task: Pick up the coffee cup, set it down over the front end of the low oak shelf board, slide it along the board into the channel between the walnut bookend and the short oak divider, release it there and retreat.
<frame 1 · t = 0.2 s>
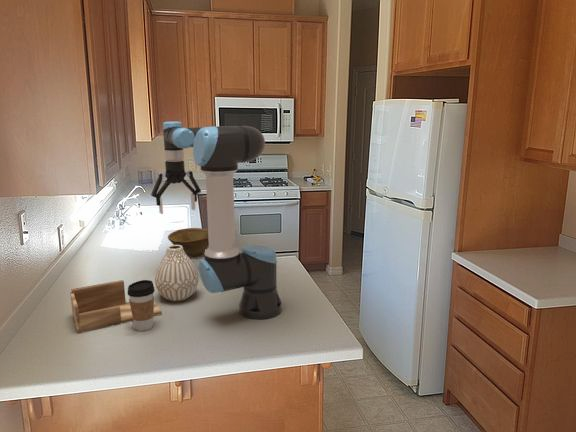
hand: (177, 211, 193), 28 cm above the countertop, fingers open, 13 cm apart
vase: (178, 297, 177), on the countertop
bowl: (192, 253, 228), on the countertop
shelf: (117, 315, 161), on the countertop
coffee cup: (144, 327, 153), on the countertop
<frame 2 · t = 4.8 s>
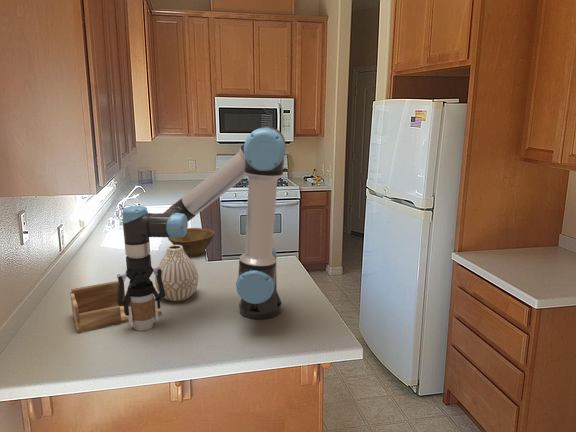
hand: (143, 320, 153), 2 cm above the countertop, fingers closed on coffee cup, 7 cm apart
coffee cup: (144, 327, 153), on the countertop, touching gripper
everything else where it was.
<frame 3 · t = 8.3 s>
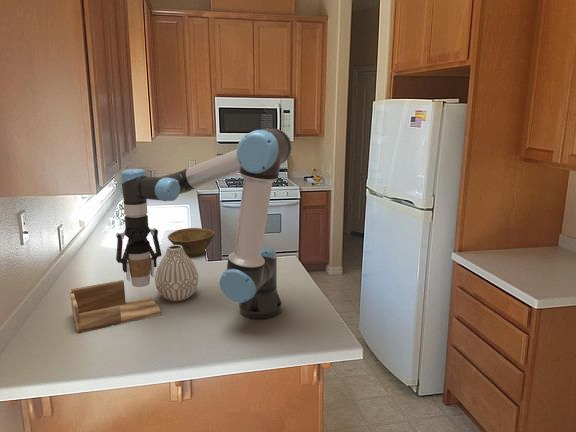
hand: (140, 278, 163), 12 cm above the countertop, fingers closed on coffee cup, 7 cm apart
coffee cup: (141, 284, 163), point 10 cm above the countertop, touching gripper
everything else where it was.
when the fingers open (5 cm above the countertop, at t = 11.9 s): coffee cup drops 1 cm, resting on shelf.
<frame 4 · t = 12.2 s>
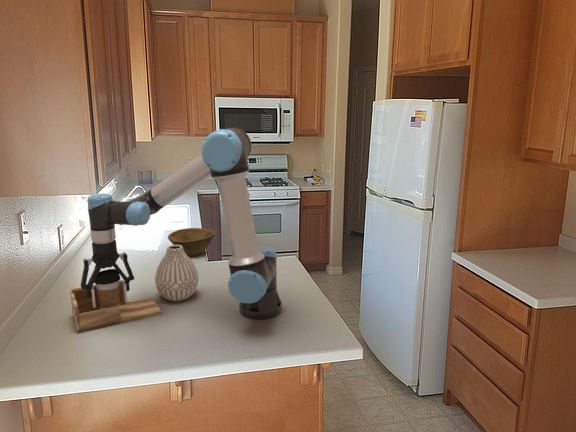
hand: (110, 303, 159), 5 cm above the countertop, fingers open, 10 cm apart
coffee cup: (110, 314, 160), point 1 cm above the countertop, touching shelf
everything else where it was.
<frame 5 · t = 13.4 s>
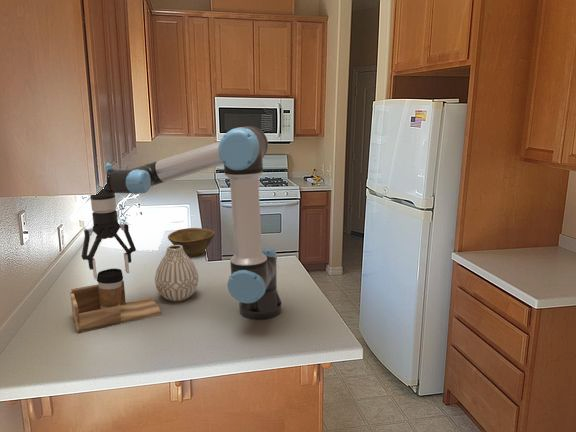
hand: (111, 274, 157), 15 cm above the countertop, fingers open, 10 cm apart
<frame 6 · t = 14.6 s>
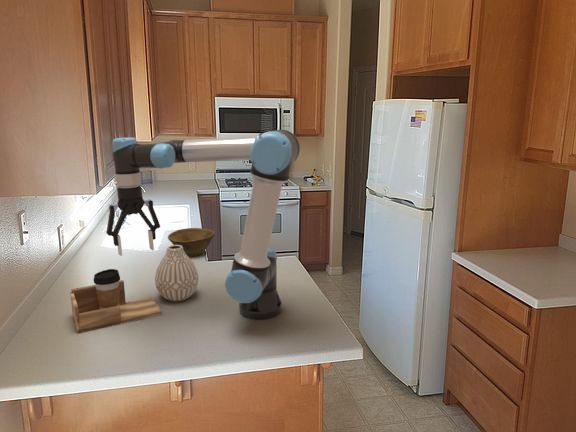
hand: (136, 251, 156), 23 cm above the countertop, fingers open, 10 cm apart
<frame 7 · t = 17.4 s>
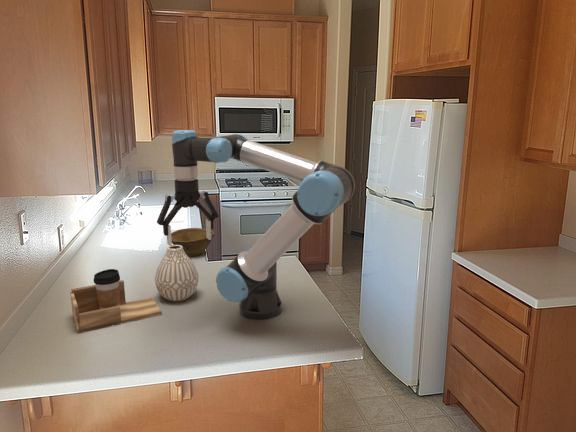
hand: (189, 241, 155), 27 cm above the countertop, fingers open, 13 cm apart
nothing on the countertop moved.
at the end: coffee cup inside the target area (0.8 cm from its centre), point 1.0 cm above the countertop; coffee cup tilted 0°; the gripper is holding nothing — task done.
